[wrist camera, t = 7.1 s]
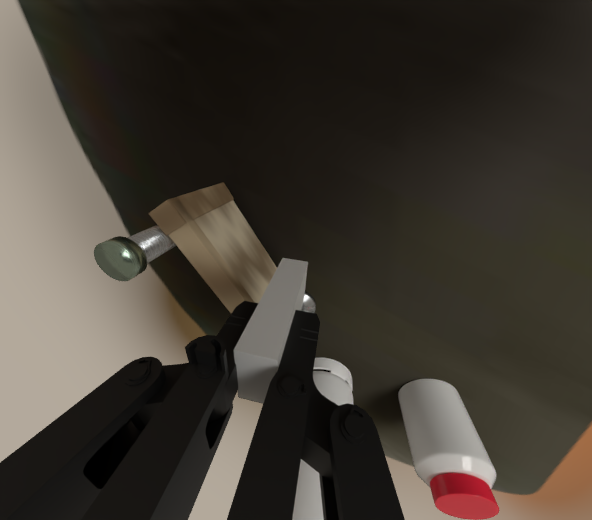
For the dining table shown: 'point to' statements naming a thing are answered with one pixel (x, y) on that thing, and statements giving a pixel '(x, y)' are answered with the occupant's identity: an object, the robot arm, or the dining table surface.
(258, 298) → the gate
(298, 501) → the bottle
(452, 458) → the pill bottle
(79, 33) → the dining table surface
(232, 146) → the dining table surface
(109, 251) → the latch post
